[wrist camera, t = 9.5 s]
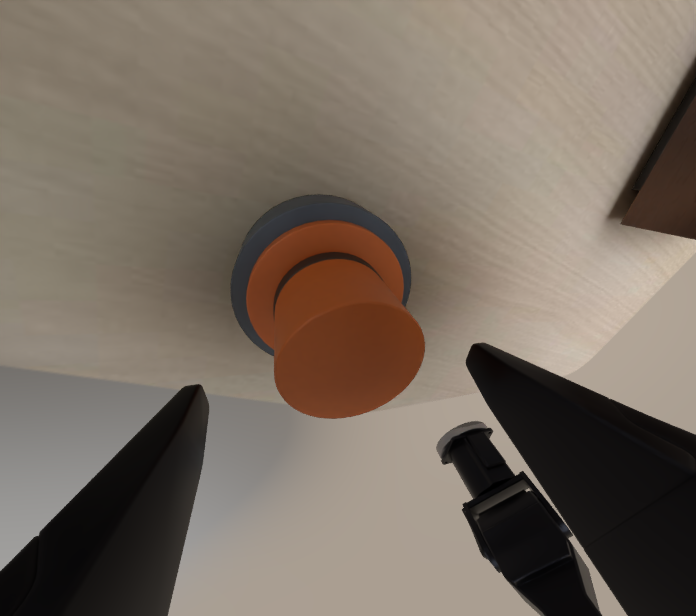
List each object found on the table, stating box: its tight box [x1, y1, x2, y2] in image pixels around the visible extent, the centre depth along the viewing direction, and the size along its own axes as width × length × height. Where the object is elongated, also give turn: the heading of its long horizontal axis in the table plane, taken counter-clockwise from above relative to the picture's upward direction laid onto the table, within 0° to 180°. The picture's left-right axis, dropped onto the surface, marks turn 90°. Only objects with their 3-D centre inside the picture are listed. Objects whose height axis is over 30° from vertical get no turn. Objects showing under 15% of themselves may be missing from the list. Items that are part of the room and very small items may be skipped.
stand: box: [231, 194, 411, 356], centre depth 14 cm, size 9×9×2 cm
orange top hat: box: [246, 220, 425, 419], centre depth 10 cm, size 8×8×5 cm
